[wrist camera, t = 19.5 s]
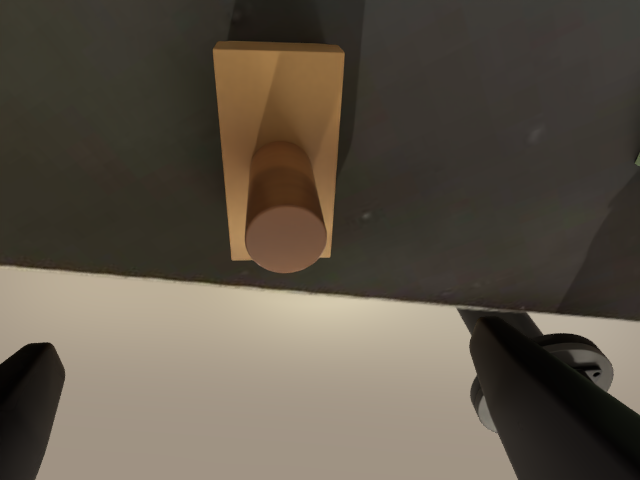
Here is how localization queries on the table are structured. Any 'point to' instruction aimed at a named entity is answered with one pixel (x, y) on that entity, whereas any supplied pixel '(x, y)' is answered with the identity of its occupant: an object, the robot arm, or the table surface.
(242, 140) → the brush
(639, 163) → the tray
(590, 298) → the table surface
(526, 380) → the robot arm
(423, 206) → the table surface
